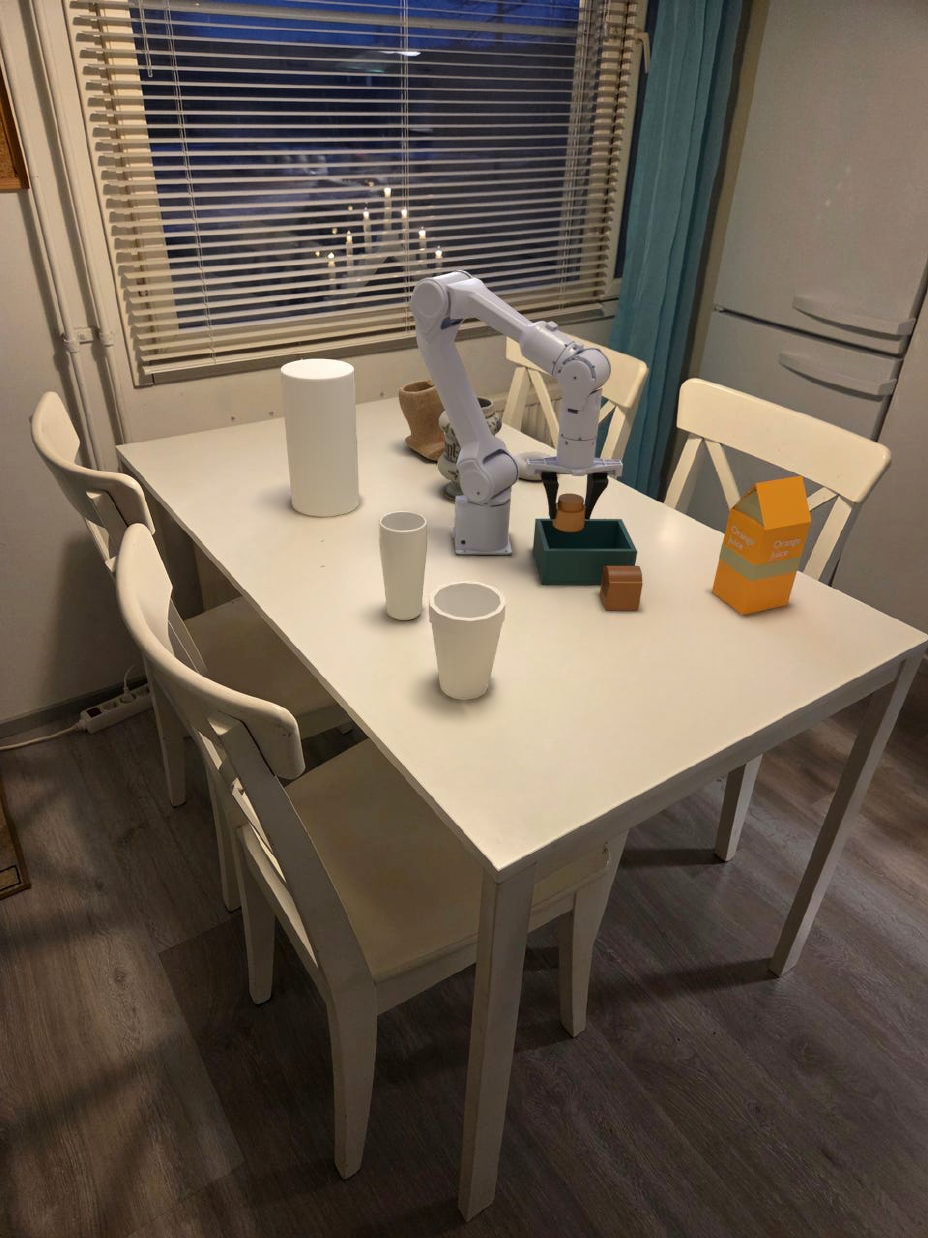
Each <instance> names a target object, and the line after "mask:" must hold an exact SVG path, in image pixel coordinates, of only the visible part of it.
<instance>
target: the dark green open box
mask: <svg viewBox="0 0 928 1238" xmlns="http://www.w3.org/2000/svg"><path fill="white" fill-rule="evenodd" d="M532 554H533V557H534V561H535V565H536V569H537V572H538V577H539V580H540V584H541V585H542V586H555V585H556V586H558V585H559V586H577V585H578V586H601V581H602V573H603V567H605V566H636V564H637V563H636V562H637V556H638V549H637V548H636V545H635V543H634V541H633V539H632V537H631V535H630V533H629V531H628V528H627V527H626V525H625V523H624V521H623V519H622V518H590V519H589V520H585V523H584V528H583V529H582V530H579V531H575V532H566V531H561V530H559V529H557V528H555V527H554V526H553V519H550V518H535V519H534V530H533V542H532Z"/></svg>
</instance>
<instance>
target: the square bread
mask: <svg viewBox="0 0 928 1238" xmlns="http://www.w3.org/2000/svg"><path fill="white" fill-rule="evenodd" d="M643 584H644V583H643V573H642V569H641V567H640V565H635V566H605V567H603V573H602V581H601V585H600V587H599V588H600V589H599V595H600V598H601V601H602V604H603V607H604V609H605V611H639V607H640V601H641V597H642V590H643Z"/></svg>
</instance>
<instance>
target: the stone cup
mask: <svg viewBox="0 0 928 1238" xmlns="http://www.w3.org/2000/svg"><path fill="white" fill-rule="evenodd" d="M398 402H399V406H400V408H401V411H402V414H403V417H404V419H405V420H406V422H407V425H408V427H409V431H410V435H408V436H406V437H405V438H404V442H405V444H406V446H408V447H409V448H410V449H412V450H413V451H415V452H416V453H418V454H419V455H420V456H423V457H424V458H426V459H429V460H432V461H436V462H438V460H439V458H440V456H441V455H442V454H443V453H444V448H445V433H444V432H443V431H442V430H441V428H440V426H439V418H440V416H441V414H442V413H443V412H444V411H445V409H444V407H443V404H442V402H441V400H440V397H439V395H438V393H437V390H436V388H435V385H434V383H433V381H432V379H420V380H415V381H412V382H408V383H404V384H403V385H402V386H400V388H399V389H398Z"/></svg>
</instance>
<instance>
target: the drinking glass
mask: <svg viewBox="0 0 928 1238" xmlns="http://www.w3.org/2000/svg"><path fill="white" fill-rule="evenodd" d="M378 542H379V543H378V546H379V555H380V563H381V571H382V580H383V587H384V595H385V611H386V613H387V615H388V616H389V617H390V618H392V619H394V620H397V621H409V620H413V619H416V618H418V617H419V615H421V614H422V611H423V594H424V582H425V576H426V575H425V574H426V573H425V572H426V563H427V555H428V521H427V518H425V516H424V515H422V514H420V513H418V512H414V511H408V510H407V511H406V510H401V511H400V510H398V511H393V512H389V513H386V514H384V515H382V516H381V517H380V519H379V524H378Z"/></svg>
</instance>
